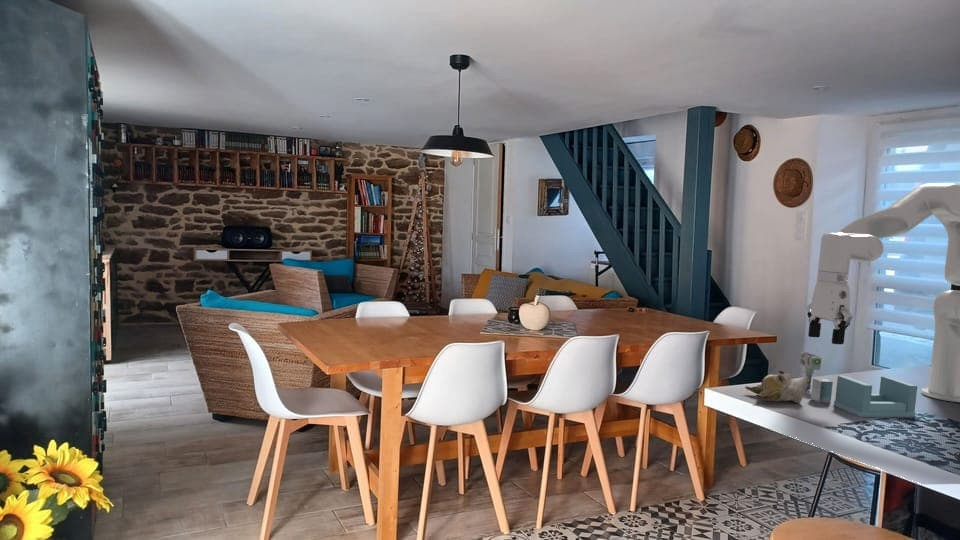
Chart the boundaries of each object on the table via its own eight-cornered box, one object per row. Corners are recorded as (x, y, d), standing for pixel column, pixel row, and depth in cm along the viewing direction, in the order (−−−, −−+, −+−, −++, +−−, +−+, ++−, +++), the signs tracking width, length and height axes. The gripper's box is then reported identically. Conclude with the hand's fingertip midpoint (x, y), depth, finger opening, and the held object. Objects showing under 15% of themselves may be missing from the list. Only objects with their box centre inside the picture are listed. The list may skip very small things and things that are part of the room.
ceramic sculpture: (815, 375, 177) (757, 374, 178) (814, 408, 178) (756, 407, 179) (799, 367, 188) (744, 366, 189) (799, 397, 188) (743, 396, 190)
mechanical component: (806, 383, 205) (809, 351, 205) (819, 392, 195) (823, 358, 194) (796, 383, 206) (799, 350, 205) (809, 391, 196) (812, 358, 195)
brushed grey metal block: (822, 399, 188) (824, 378, 187) (830, 403, 184) (832, 381, 184) (810, 399, 187) (812, 378, 187) (819, 403, 184) (821, 381, 183)
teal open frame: (885, 405, 185) (889, 376, 184) (914, 416, 175) (918, 386, 174) (833, 405, 182) (836, 375, 181) (860, 416, 172) (863, 385, 171)
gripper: (867, 282, 175) (860, 347, 177) (823, 275, 192) (817, 334, 194) (841, 281, 174) (834, 346, 175) (799, 274, 191) (793, 334, 192)
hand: (825, 340), depth 184 cm, fingers open, 9 cm apart
